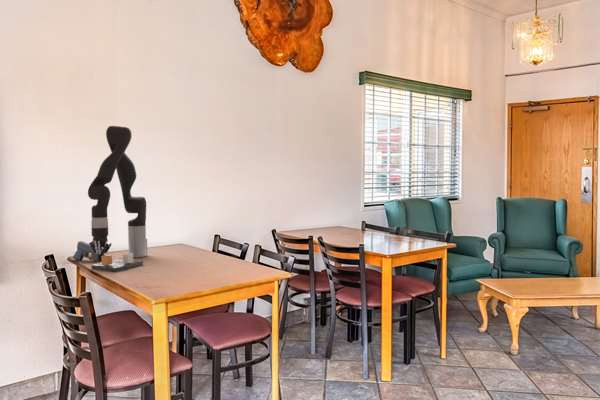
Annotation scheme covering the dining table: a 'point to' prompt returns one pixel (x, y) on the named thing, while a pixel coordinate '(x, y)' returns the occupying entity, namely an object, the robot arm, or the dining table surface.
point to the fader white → (128, 258)
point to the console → (117, 265)
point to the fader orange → (106, 259)
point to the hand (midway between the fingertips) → (100, 261)
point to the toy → (84, 252)
